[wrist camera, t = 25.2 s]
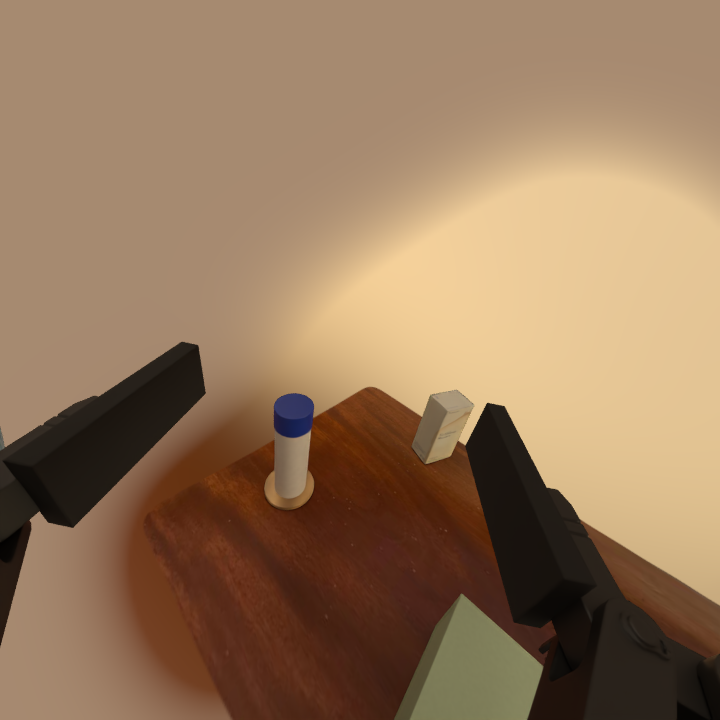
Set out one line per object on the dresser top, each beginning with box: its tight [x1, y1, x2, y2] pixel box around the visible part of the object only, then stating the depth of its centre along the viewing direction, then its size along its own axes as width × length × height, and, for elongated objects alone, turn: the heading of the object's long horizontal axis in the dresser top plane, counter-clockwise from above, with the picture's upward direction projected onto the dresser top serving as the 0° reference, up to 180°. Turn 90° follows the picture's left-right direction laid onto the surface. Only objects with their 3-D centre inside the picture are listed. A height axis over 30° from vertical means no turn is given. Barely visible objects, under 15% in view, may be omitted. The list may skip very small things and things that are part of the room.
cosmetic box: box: [412, 390, 474, 464], centre depth 48 cm, size 6×4×12 cm
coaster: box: [264, 470, 314, 510], centre depth 41 cm, size 7×7×1 cm
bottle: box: [274, 393, 314, 499], centre depth 37 cm, size 5×5×15 cm
